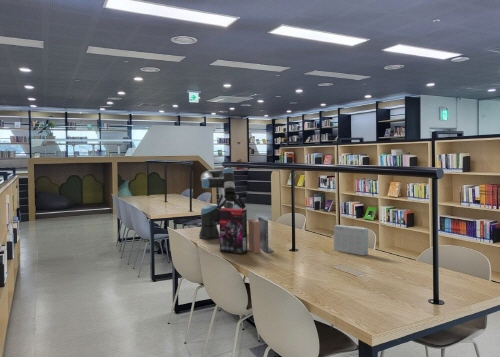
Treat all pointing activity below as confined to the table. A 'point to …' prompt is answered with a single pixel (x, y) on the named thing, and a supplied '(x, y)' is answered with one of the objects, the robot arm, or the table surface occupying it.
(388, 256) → the table surface
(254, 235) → the book
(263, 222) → the bookend
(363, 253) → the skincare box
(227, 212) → the graphics card box
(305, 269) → the table surface
